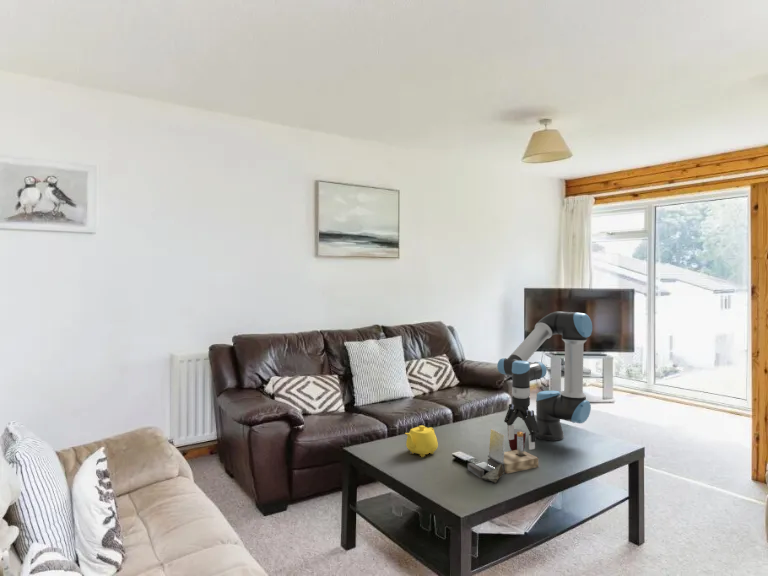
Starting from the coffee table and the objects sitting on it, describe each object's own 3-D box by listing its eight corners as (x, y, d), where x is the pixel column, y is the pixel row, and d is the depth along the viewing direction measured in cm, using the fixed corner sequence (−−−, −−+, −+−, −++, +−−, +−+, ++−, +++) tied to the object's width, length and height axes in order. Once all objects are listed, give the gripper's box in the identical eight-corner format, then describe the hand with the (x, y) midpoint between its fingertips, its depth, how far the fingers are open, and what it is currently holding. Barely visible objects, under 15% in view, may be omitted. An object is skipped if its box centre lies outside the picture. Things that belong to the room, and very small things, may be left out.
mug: (532, 456, 230) (532, 434, 230) (517, 458, 227) (517, 436, 227) (518, 448, 240) (518, 428, 239) (504, 450, 237) (504, 429, 237)
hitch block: (519, 457, 228) (519, 449, 228) (538, 466, 217) (538, 457, 217) (465, 468, 215) (465, 459, 215) (482, 478, 205) (482, 469, 204)
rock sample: (480, 464, 210) (494, 455, 206) (494, 475, 211) (508, 466, 206) (475, 483, 202) (489, 474, 197) (490, 495, 202) (504, 486, 197)
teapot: (444, 452, 236) (444, 425, 236) (416, 463, 222) (416, 434, 222) (423, 444, 246) (423, 419, 246) (394, 455, 232) (394, 428, 232)
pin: (521, 462, 222) (520, 431, 222) (524, 464, 220) (524, 432, 219) (516, 463, 221) (515, 432, 221) (520, 465, 219) (519, 433, 218)
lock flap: (489, 457, 219) (491, 428, 220) (504, 465, 210) (506, 435, 211) (487, 457, 219) (489, 428, 219) (502, 465, 210) (504, 435, 210)
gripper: (496, 391, 229) (496, 436, 230) (533, 404, 207) (534, 454, 208) (509, 389, 233) (509, 434, 233) (547, 401, 210) (548, 451, 211)
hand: (521, 444), depth 220 cm, fingers open, 13 cm apart
